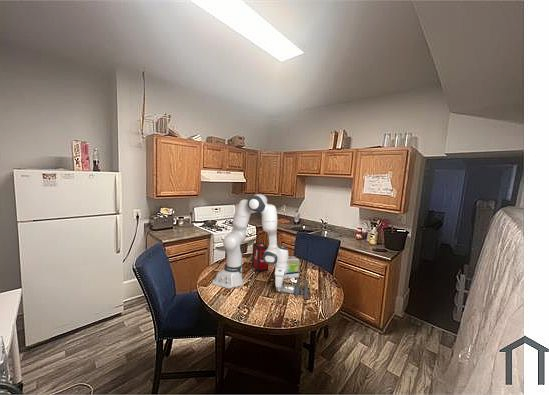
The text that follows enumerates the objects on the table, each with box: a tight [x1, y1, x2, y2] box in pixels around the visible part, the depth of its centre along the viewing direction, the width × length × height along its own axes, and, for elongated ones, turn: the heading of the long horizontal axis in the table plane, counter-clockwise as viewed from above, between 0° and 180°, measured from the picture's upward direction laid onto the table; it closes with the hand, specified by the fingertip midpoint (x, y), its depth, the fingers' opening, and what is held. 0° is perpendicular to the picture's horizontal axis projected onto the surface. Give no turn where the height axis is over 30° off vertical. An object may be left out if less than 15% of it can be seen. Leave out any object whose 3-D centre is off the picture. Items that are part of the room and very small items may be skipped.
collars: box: [294, 279, 313, 299], centre depth 156 cm, size 11×10×9 cm
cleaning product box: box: [251, 241, 270, 273], centre depth 195 cm, size 16×9×20 cm, turn 25°
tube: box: [275, 283, 303, 296], centre depth 157 cm, size 18×5×5 cm, turn 79°
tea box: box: [284, 255, 301, 280], centre depth 182 cm, size 15×10×15 cm
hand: (280, 287), depth 159 cm, fingers open, 8 cm apart
